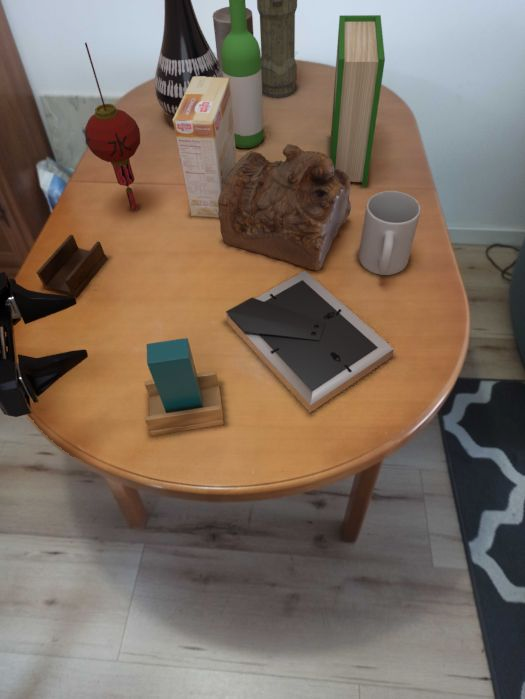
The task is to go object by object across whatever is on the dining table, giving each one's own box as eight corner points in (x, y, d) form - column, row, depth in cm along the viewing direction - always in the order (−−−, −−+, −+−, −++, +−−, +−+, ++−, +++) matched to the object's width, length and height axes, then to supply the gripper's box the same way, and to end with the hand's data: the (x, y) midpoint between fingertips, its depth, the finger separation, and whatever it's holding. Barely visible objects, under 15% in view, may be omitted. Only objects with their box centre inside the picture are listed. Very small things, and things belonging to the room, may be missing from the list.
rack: (76, 297, 86) (68, 281, 82) (44, 288, 87) (35, 272, 84) (107, 259, 91) (101, 242, 88) (76, 251, 93) (69, 234, 90)
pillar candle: (259, 66, 134) (257, 0, 122) (249, 83, 128) (245, 17, 116) (225, 62, 136) (219, -2, 124) (213, 80, 130) (205, 14, 118)
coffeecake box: (206, 171, 106) (192, 75, 91) (239, 172, 105) (231, 76, 90) (189, 216, 97) (170, 119, 82) (225, 219, 97) (213, 120, 81)
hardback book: (366, 186, 101) (384, 59, 82) (329, 186, 101) (338, 59, 82) (364, 138, 111) (380, 15, 92) (330, 137, 112) (339, 15, 93)
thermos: (263, 102, 122) (255, -83, 94) (258, 79, 129) (250, -100, 102) (299, 99, 123) (302, -87, 95) (292, 76, 130) (293, -103, 102)
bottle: (241, 128, 116) (229, -29, 92) (270, 136, 113) (266, -23, 89) (222, 144, 112) (204, -15, 88) (252, 154, 109) (242, -8, 85)
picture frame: (227, 323, 81) (310, 413, 70) (225, 311, 79) (310, 402, 68) (304, 279, 86) (391, 357, 76) (304, 267, 84) (395, 345, 73)
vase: (162, 103, 124) (132, -44, 101) (226, 97, 125) (212, -50, 101) (161, 138, 115) (128, -15, 91) (230, 132, 115) (216, -22, 91)
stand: (151, 435, 69) (144, 421, 66) (150, 395, 73) (144, 380, 70) (223, 424, 70) (220, 410, 67) (219, 385, 74) (216, 369, 71)
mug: (360, 239, 91) (368, 187, 83) (409, 244, 90) (422, 192, 81) (353, 287, 84) (361, 236, 76) (406, 293, 83) (419, 242, 74)
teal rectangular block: (167, 418, 70) (146, 363, 59) (167, 399, 72) (146, 343, 61) (203, 412, 70) (189, 357, 60) (202, 394, 72) (187, 337, 61)
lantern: (164, 214, 98) (124, 48, 74) (116, 229, 96) (59, 62, 72) (150, 188, 103) (109, 25, 79) (105, 201, 101) (48, 37, 77)
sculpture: (311, 279, 82) (205, 244, 87) (340, 266, 98) (249, 237, 104) (344, 156, 75) (226, 128, 81) (370, 164, 91) (270, 140, 97)
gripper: (-96, 375, 47) (79, 337, 51) (-88, 249, 57) (56, 227, 62) (-48, 436, 55) (98, 399, 60) (-49, 316, 66) (75, 292, 70)
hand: (81, 325), depth 63 cm, fingers open, 9 cm apart
